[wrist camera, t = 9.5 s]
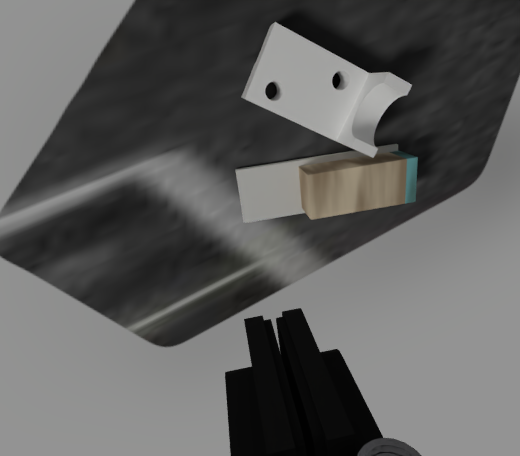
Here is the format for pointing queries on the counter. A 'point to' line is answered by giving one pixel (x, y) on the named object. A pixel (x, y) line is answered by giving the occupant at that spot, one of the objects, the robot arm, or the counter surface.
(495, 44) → the counter surface
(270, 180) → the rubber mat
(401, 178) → the maple block
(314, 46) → the bracket
